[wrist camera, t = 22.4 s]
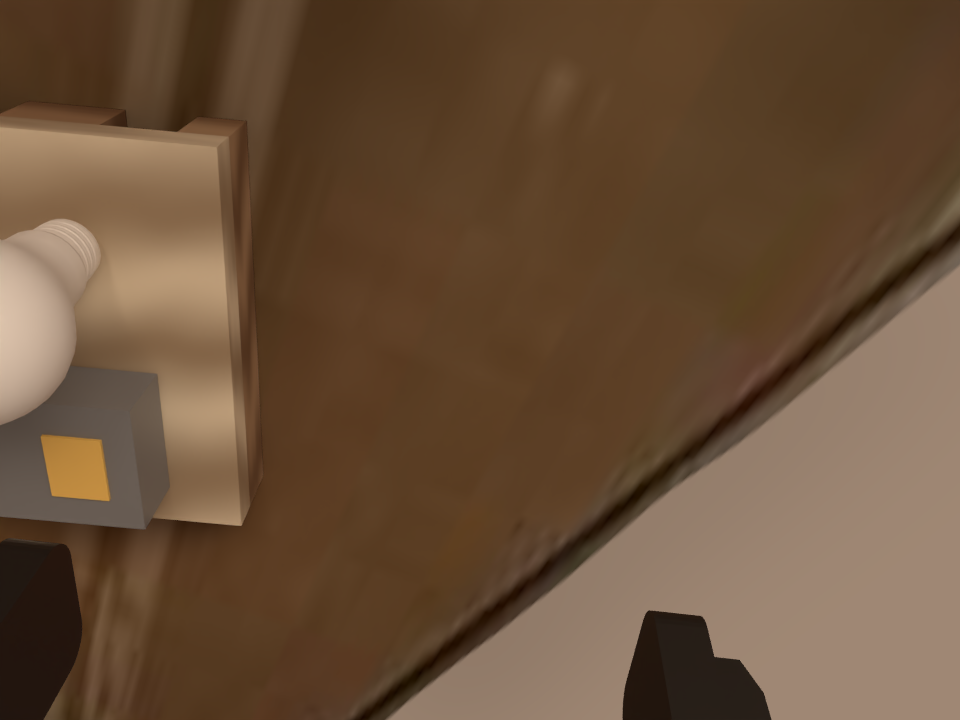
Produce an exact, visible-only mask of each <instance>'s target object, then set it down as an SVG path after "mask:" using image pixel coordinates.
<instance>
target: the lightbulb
mask: <svg viewBox="0 0 960 720" xmlns="http://www.w3.org/2000/svg"><path fill="white" fill-rule="evenodd" d="M100 258H101V253H100V248H99V245H98V243H97V241H96V239H95V237H94V236H93V235H92V233H91V232H90V231H89V230H88V229H86V228H85V227H84V226H82V225H81V224H79V223H77V222H75V221H72V220H68V219H54V220H50V221H48V222H45V223H43V224H41V225H40V226H38V227H37V228H35V229H33V230H27V231H22V232H18V233H16V234H14V235H12V236H11V237H9V238H7V239H5V240H0V425H2V424H5V423H8V422H11V421H13V420H15V419H17V418H20V417H22V416H24V415H26V414H28V413H29V412H31V411H32V410H34V409H36V408H37V407H38V406H40V405H41V404H42V403H43V402H45V401H46V400H47V399H48V398H49V397H50V396H51V395H52V394H53V393H54V392H55V390H56V389H57V388H58V387H59V385H60V384H61V383H62V381H63V380H64V379H65V376H66V374H67V372H68V369H69V367H70V364H71V362H72V359H73V356H74V354H75V347H76V340H77V336H76V322H75V312H74V305H75V304H76V302H77V301H78V300H79V299H80V297H81V296H82V294H83V292H84V290H85V287H86V282H87V281H88V280H89V279H90V278H91V276H92V275H93V274H94V272H95V271H96V269H97V268H98V266H99V263H100Z"/></svg>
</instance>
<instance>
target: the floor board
mask: <svg viewBox="0 0 960 720" xmlns="http://www.w3.org/2000/svg"><path fill="white" fill-rule="evenodd" d="M54 219H68V220H72V221H75V222H77V223H79V224H81V225H82V226H84V227H85V228H86V229H88V230H89V231H90V232H91V233H92V235H93V236H94V237H95V239H96V241H97V243H98V245H99V248H100V253H101V258H100V263H99V266H98V268H97V269H96V271H95V272H94V274H93V275H92V276H91V278H90V279H89V280H88V281H87V282H86V287H85V290H84V292H83V294H82V296H81V297H80V299H79V300H78V301H77V302H76V304H75V305H74V312H75V322H76V336H77V340H76V347H75V354H74V356H73V359H72V362H71V364H70V366H77V367H88V368H99V369H110V370H121V371H132V372H143V373H154V374H157V376H158V385H159V394H160V403H161V412H162V421H163V430H164V439H165V448H166V457H167V466H168V475H169V483H170V488H169V489H168V491H167V493H166V495H165V496H164V498H163V500H162V502H161V503H160V505H159V507H158V508H157V510H156V512H155V514H154V515H153V517H152V518H159V519H170V520H181V521H192V522H203V523H214V524H225V525H236V526H242V523H243V521H244V519H245V517H246V514H247V512H248V510H249V507H250V505H251V503H252V500H253V498H254V496H255V493H256V491H257V489H258V487H259V484H260V482H261V480H262V477H263V457H262V435H261V414H260V393H259V372H258V351H257V330H256V309H255V288H254V267H253V246H252V225H251V204H250V183H249V162H248V141H247V121H240V120H229V119H218V118H208V117H197V118H196V119H194V120H193V121H191V122H190V123H189V124H187V125H186V126H185V127H183V128H182V129H181V130H179V131H178V132H171V131H161V130H150V129H139V128H128V127H127V121H126V112H125V110H120V109H110V108H99V107H88V106H77V105H66V104H55V103H44V102H33V101H27V102H25V103H23V104H21V105H18V106H16V107H14V108H12V109H9V110H7V111H5V112H3V113H1V114H0V240H5V239H7V238H9V237H11V236H12V235H14V234H16V233H18V232H22V231H27V230H33V229H35V228H37V227H38V226H40V225H41V224H43V223H45V222H48V221H50V220H54Z"/></svg>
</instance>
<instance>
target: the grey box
mask: <svg viewBox="0 0 960 720" xmlns="http://www.w3.org/2000/svg"><path fill="white" fill-rule="evenodd" d="M169 488H170V483H169V475H168V466H167V457H166V448H165V439H164V430H163V421H162V412H161V403H160V394H159V385H158V376H157V374H154V373H143V372H132V371H121V370H110V369H99V368H88V367H77V366H70V367H69V369H68V372H67V374H66V376H65V379H64V380H63V381H62V383H61V384H60V385H59V387H58V388H57V389H56V390H55V392H54V393H53V394H52V395H51V396H50V397H49V398H48V399H47V400H46V401H45V402H43V403H42V404H41V405H40V406H38V407H37V408H36V409H34V410H32V411H31V412H29V413H28V414H26V415H24V416H22V417H20V418H17V419H15V420H13V421H11V422H8V423H5V424H2V425H0V516H1V517H12V518H23V519H34V520H45V521H56V522H67V523H78V524H89V525H100V526H111V527H122V528H133V529H144V530H145V529H146V527H147V526H148V524H149V522H150V521H151V519H152V517H153V515H154V514H155V512H156V510H157V508H158V507H159V505H160V503H161V502H162V500H163V498H164V496H165V495H166V493H167V491H168V489H169Z"/></svg>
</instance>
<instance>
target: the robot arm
mask: <svg viewBox="0 0 960 720" xmlns="http://www.w3.org/2000/svg"><path fill="white" fill-rule="evenodd" d="M81 636H82V619H81V613H80V607H79V601H78V595H77V589H76V583H75V577H74V571H73V565H72V559H71V554H70V551H69V548H68V547H67V546H66V545H64V544H58V543H49V542H40V541H31V540H22V539H13V538H8V539H5V540H4V541H2V542H1V543H0V720H43V719H44V718H45V716H46V714H47V712H48V711H49V709H50V707H51V705H52V703H53V702H54V700H55V698H56V696H57V694H58V693H59V691H60V689H61V687H62V686H63V684H64V682H65V680H66V678H67V677H68V675H69V673H70V671H71V669H72V667H73V665H74V663H75V660H76V657H77V654H78V651H79V647H80V643H81ZM623 720H771V717H770V713H769V710H768V706H767V703H766V700H765V696H764V693H763V691H762V690H761V689H760V687H759V686H758V685H757V683H756V682H755V680H754V679H753V678H752V676H751V675H750V674H749V672H748V671H747V670H746V668H745V667H744V665H743V664H742V663H741V661H740V660H736V659H726V658H717V657H714V654H713V649H712V645H711V641H710V637H709V633H708V629H707V625H706V622H705V620H704V619H703V617H701V616H695V615H686V614H677V613H668V612H659V611H648V612H647V613H646V615H645V617H644V620H643V623H642V627H641V630H640V634H639V638H638V641H637V645H636V648H635V652H634V656H633V660H632V663H631V667H630V670H629V674H628V678H627V681H626V685H625V691H624V699H623Z"/></svg>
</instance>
